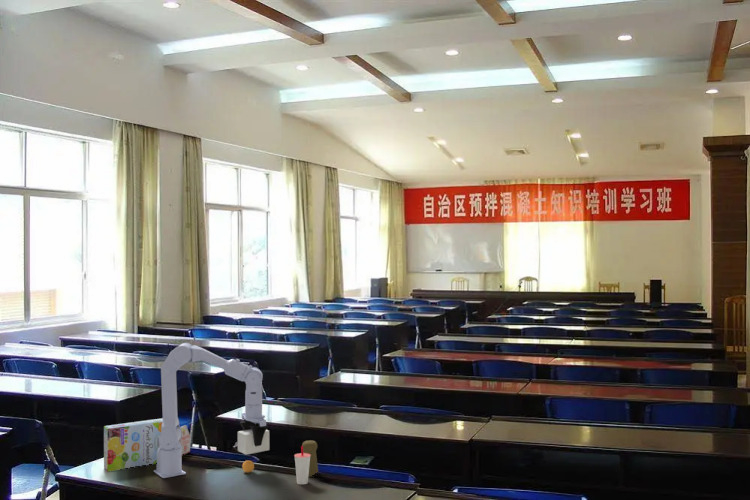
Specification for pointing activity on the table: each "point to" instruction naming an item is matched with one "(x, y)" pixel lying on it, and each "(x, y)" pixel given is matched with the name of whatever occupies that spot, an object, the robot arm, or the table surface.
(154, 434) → the snack box
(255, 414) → the robot arm
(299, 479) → the cup
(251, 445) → the cover
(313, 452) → the cork
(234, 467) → the table surface
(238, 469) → the table surface
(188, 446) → the tea bag
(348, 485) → the table surface
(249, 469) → the ball
